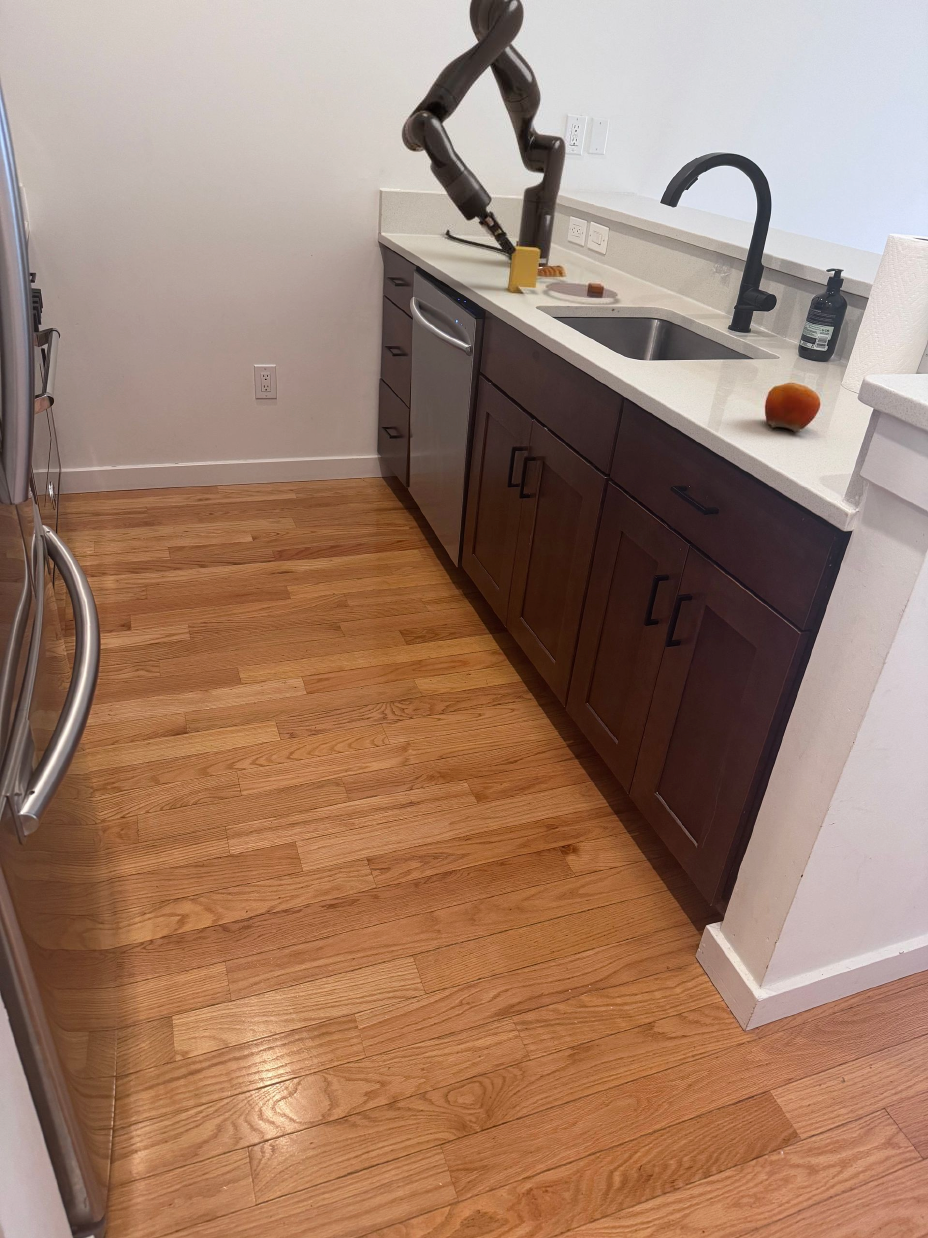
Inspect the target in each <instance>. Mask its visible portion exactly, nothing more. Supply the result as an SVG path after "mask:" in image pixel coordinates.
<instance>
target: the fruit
mask: <svg viewBox="0 0 928 1238" xmlns="http://www.w3.org/2000/svg"><path fill="white" fill-rule="evenodd" d="M820 407H821V398H820V396H819V395H818V394H817V392H816V391H815V390H813V389H812V388H810V387H809V386H807V385H804V384H800V383H797V382H786V383H783V384H780V385H774V387H772V388H771V389H770V390H769V391H768V392H767V396H766V399H765V403H764V415H765V421H766V423H767V424H768V425H770V426H771V429H773V428H786V429H789V430H792V431H793V432H794V433H795V435H796V436H798V431H799V430H804V429H805V428H806V427H808V425H810V424H811V422H812V421H813V420H814V419H815V418H816V416H817V415H818V413H819V411H820Z"/></svg>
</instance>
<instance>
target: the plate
mask: <svg viewBox="0 0 928 1238" xmlns="http://www.w3.org/2000/svg"><path fill="white" fill-rule="evenodd" d="M545 288H546V289H548V290H549V291H552V292H555V293H558V294H562V295H567V296H573V297H579V298H588V299H611V298H616V297H618V296H619V295H618V292H616V291H614V290H611V289H609V288H605V287H604V291H603V293H594V292H591V291H589V290H588V284H585V283H575V282H552V283H548V284H546V285H545Z"/></svg>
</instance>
